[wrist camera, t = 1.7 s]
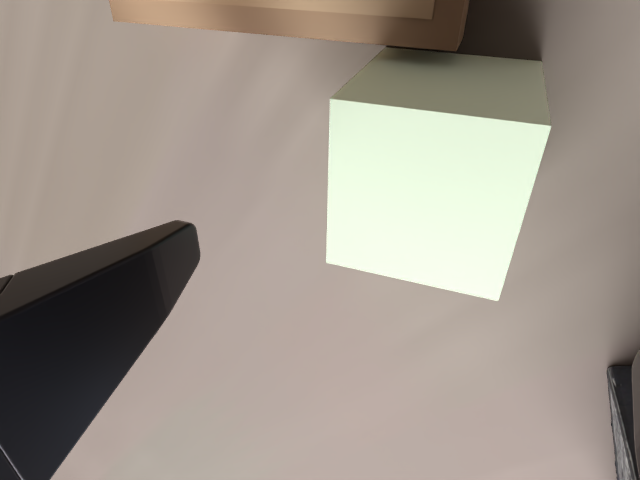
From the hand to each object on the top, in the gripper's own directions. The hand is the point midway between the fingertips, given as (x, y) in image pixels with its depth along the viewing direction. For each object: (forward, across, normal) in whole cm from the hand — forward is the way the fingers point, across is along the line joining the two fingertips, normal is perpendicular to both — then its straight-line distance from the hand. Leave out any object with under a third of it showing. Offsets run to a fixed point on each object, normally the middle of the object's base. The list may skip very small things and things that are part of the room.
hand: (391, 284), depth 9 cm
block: (+10, 0, 0) cm, 10 cm away
